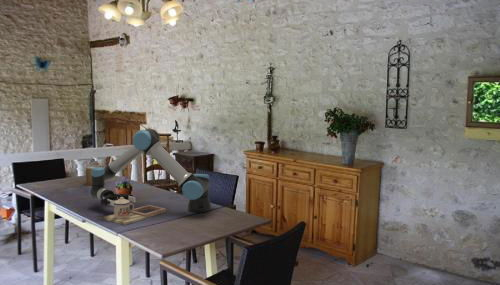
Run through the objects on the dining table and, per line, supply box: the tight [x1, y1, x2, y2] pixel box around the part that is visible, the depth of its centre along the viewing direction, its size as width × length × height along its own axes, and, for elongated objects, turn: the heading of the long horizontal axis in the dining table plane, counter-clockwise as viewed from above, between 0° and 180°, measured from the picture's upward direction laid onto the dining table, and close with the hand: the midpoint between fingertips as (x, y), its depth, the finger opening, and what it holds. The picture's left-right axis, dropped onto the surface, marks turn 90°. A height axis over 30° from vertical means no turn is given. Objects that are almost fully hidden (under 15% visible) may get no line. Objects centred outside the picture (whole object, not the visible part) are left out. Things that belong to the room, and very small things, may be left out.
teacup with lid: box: [113, 197, 135, 219], centre depth 241 cm, size 12×9×12 cm
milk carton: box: [85, 159, 105, 187], centre depth 332 cm, size 11×11×19 cm
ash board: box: [103, 213, 146, 226], centre depth 242 cm, size 18×15×2 cm
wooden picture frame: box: [130, 204, 167, 219], centre depth 257 cm, size 15×18×2 cm
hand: (124, 201), depth 240 cm, fingers open, 13 cm apart
